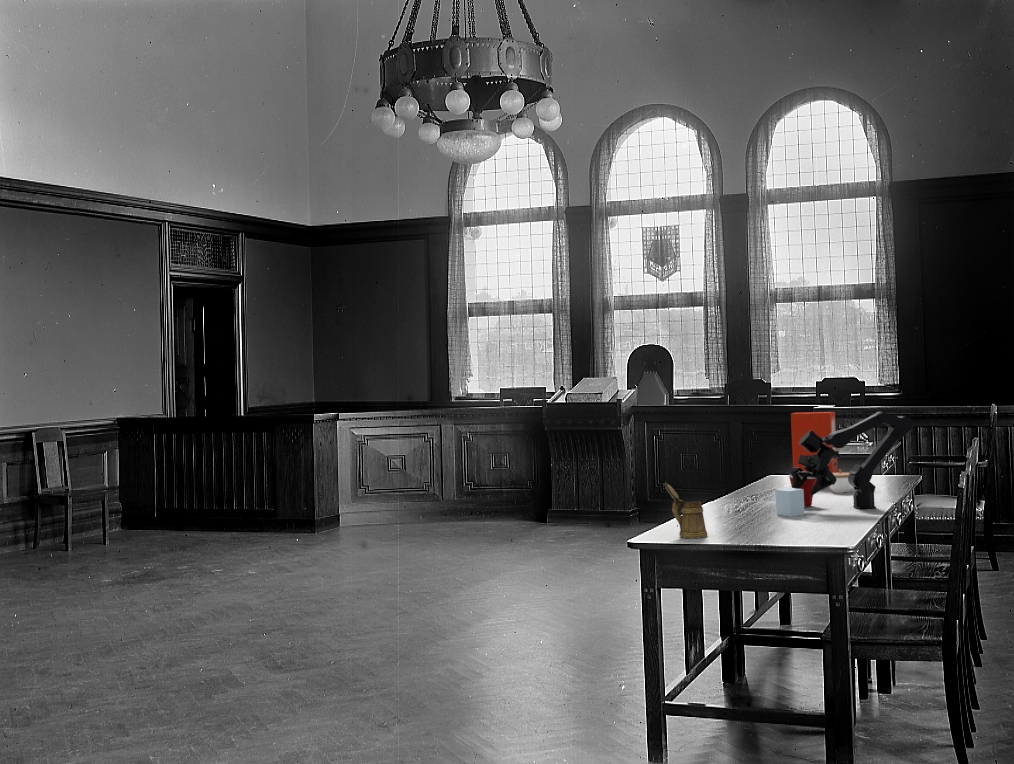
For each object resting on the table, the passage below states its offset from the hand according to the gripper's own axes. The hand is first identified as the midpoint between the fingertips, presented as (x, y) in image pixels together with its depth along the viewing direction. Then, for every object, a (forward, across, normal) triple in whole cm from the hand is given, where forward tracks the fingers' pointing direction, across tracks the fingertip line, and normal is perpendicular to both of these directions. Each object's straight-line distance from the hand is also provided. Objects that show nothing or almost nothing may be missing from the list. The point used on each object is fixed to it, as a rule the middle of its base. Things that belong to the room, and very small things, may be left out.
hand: (801, 493), depth 398 cm
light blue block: (+10, 0, +1) cm, 10 cm away
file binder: (-41, -57, +52) cm, 87 cm away
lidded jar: (-33, -32, +44) cm, 63 cm away
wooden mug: (+48, +7, -38) cm, 61 cm away
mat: (+11, +13, 0) cm, 17 cm away
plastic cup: (-5, -14, +16) cm, 21 cm away
